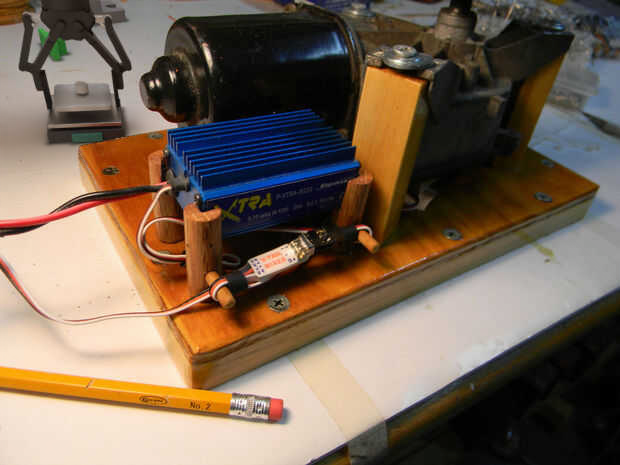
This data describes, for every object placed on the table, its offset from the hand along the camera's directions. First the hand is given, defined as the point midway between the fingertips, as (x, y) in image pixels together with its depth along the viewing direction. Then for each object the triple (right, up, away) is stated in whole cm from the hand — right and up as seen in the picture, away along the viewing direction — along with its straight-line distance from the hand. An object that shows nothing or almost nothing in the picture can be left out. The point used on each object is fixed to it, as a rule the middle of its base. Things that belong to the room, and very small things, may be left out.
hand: (84, 105), depth 91 cm
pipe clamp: (-20, +20, +27) cm, 39 cm away
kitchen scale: (-1, -4, +3) cm, 5 cm away
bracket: (-21, +37, +47) cm, 63 cm away
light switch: (0, -1, 0) cm, 1 cm away
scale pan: (0, -1, +1) cm, 1 cm away
